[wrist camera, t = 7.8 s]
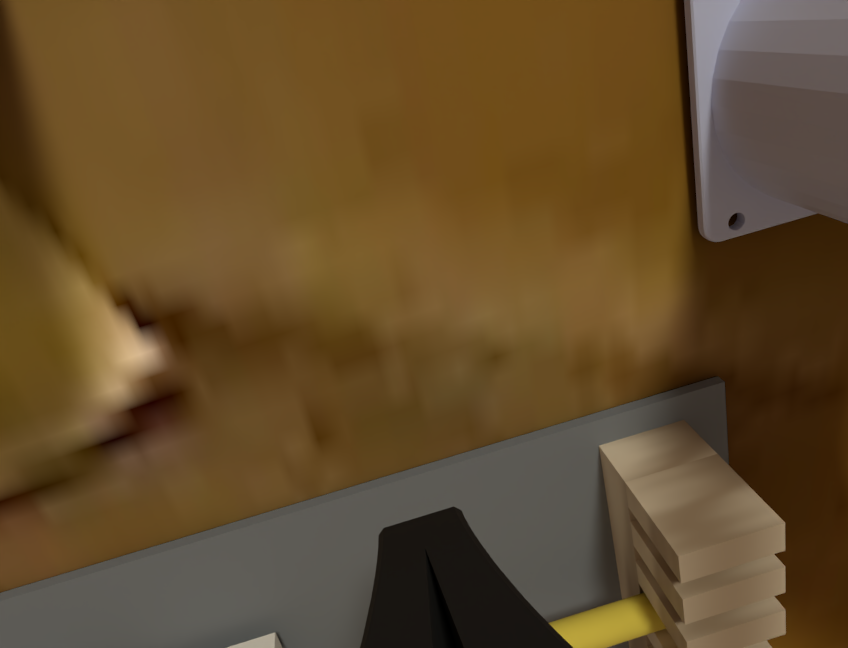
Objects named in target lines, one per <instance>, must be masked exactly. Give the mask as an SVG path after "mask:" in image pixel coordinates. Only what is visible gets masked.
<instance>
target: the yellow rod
mask: <svg viewBox="0 0 848 648" xmlns="http://www.w3.org/2000/svg"><path fill="white" fill-rule="evenodd" d="M549 624H550V625H551V626H552V627H553V628H554V629H555V630H556V631H557V632H558V633H559V634H560V635H561V636H562V637H563V638H564V639H565V640H566V641H567V642H568V643H569V644H570V645H571V646H572V647H573V648H607V647H610V646H613V645H616V644H620V643H623V642H626V641H629V640H632V639H635V638H638V637H641V636H644V635H647V634H651V633H654V632H657V631H660V630H663V629H666V627H665V625H664V624H663V622H662V621H661V619H660V617H659V616H658V614H657V612H656V611H655V609H654V607H653V606H652V604H651V603H650V601H649V599H648V598H647V596H646V594H645V593H641V594H637V595H634V596H631V597H628V598H625V599H622V600H619V601H615V602H612V603H609V604H606V605H603V606H600V607H597V608H594V609H590V610H587V611H584V612H581V613H578V614H575V615H572V616H568V617H565V618H562V619H559V620H556V621H553V622H550V623H549Z"/></svg>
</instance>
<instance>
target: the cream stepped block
mask: <svg viewBox="0 0 848 648" xmlns="http://www.w3.org/2000/svg"><path fill="white" fill-rule="evenodd" d="M227 648H282V646H281V643H280V641H279V639H278V637H277V635H276V633H271V634H268V635H265V636H262V637H259V638H255V639H252V640H249V641H246V642H243V643H239V644H236V645H233V646H230V647H227Z"/></svg>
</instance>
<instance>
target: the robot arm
mask: <svg viewBox="0 0 848 648" xmlns="http://www.w3.org/2000/svg"><path fill="white" fill-rule="evenodd" d="M684 8H685V24H686V40H687V56H688V72H689V88H690V104H691V120H692V136H693V152H694V168H695V184H696V200H697V216H698V229H699V232H700V234H701V235H702V236H703V237H704V238H705V239H707V240H710V241H712V242H721V241H725V240H728V239H731V238H735V237H738V236H742V235H745V234H749V233H752V232H756V231H759V230H762V229H766V228H769V227H773V226H776V225H780V224H783V223H787V222H790V221H793V220H797V219H800V218H804V217H807V216H811V215H814V214H818V213H819V214H822V215H825V216H827V217H830V218H833V219H836V220H839V221H841V222H844V223H847V224H848V0H684ZM735 213H737V220H736V222H735V223H734V224H733V225H731V226H730V227H729V225H728V222H729V219H730V217H731V216H732V215H733V214H735ZM360 648H573V647H572V646H571V645H570V644H569V643H568V642H567V641H566V640H565V639H564V638H563V637H562V636H561V635H560V634H559V633H558V632H557V631H556V630H555V629H554V628H553V627H552V626H551V625H550V624H549V623H548V622H547V621H546V620H545V619H544V618H543V617H542V616H541V615H540V614H539V613H538V612H537V611H536V610H535V609H534V607H533V606H532V605H531V604H530V603H529V602H528V601H527V600H526V599H525V598H524V597H523V595H522V594H521V593H520V592H519V591H518V590H517V588H516V587H515V586H514V585H513V584H512V583H511V581H510V580H509V579H508V578H507V577H506V576H505V574H504V573H503V572H502V571H501V570H500V568H499V567H498V566H497V564H496V563H495V562H494V561H493V559H492V558H491V557H490V555H489V554H488V553H487V551H486V550H485V549H484V547H483V546H482V544H481V543H480V542H479V540H478V539H477V537H476V536H475V534H474V532H473V531H472V529H471V528H470V526H469V524H468V522H467V521H466V519H465V517H464V515H463V512H462V510H460V509H458V508H456V507H450V508H447V509H444V510H440V511H437V512H434V513H431V514H427V515H424V516H421V517H418V518H414V519H411V520H408V521H405V522H401V523H398V524H395V525H392V526H388V527H385V528H383V529H382V531H381V532H380V534H379V538H378V555H377V565H376V572H375V579H374V584H373V590H372V596H371V601H370V606H369V610H368V615H367V620H366V624H365V629H364V634H363V638H362V642H361V646H360Z"/></svg>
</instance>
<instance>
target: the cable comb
mask: <svg viewBox="0 0 848 648" xmlns="http://www.w3.org/2000/svg"><path fill="white" fill-rule="evenodd" d="M599 450H600V457H601V463H602V470H603V477H604V483H605V490H606V496H607V503H608V510H609V516H610V523H611V530H612V536H613V543H614V549H615V556H616V563H617V569H618V576H619V582H620V589H621V596H622V599H625V598H628V597H631V596H634V595H637V594H641V593H645V594H646V596H647V598H648V599H649V601H650V603H651V604H652V606H653V607H654V609H655V611H656V612H657V614H658V616H659V617H660V619H661V621H662V622H663V624H664V625H665V627H666V629H663V630H660V631H657V632H654V633H651V634H647V635H644V636H641V637H638V638H635V639H632V640H629V641H628V642H629V648H772V647H771V646H770V644H769V643H768V642H767V640H769V639H772V638H775V637H778V636H781V635H784V634H786V610H785V609H784V607H783V606H782V605H781V604H780V603H779V601H778V600H777V599H776V598H775V597H774V596H776V595H779V594H783V593H786V575H785V566H784V564H783V563H782V562H781V561H780V560H779V559H778V558H777V557H776V556H775V555H774V554H776V553H779V552H782V551H785V522H784V521H783V520H782V519H781V518H780V517H779V516H778V515H777V514H776V513H775V512H774V511H773V510H772V509H771V508H770V507H769V506H768V505H767V504H766V503H765V502H764V501H763V500H762V499H761V498H760V497H759V496H758V494H757V493H756V492H755V491H754V490H753V489H752V488H751V487H750V486H749V485H748V484H747V483H746V482H745V481H744V480H743V479H742V478H741V477H740V476H739V475H738V474H737V473H736V472H735V471H734V470H733V469H732V468H731V467H730V466H729V465H728V464H727V463H726V462H725V461H724V460H723V459H722V458H721V457H720V456H719V455H718V454H717V453H716V452H715V451H714V450H713V449H712V448H711V447H710V446H709V445H708V444H707V443H706V442H705V441H704V440H703V439H702V438H701V437H700V436H699V435H698V434H697V433H696V432H695V430H694V429H693V428H692V427H691V426H690V425H689V424H688V423H687V422H686V421H685V420H681V421H678V422H675V423H672V424H668V425H665V426H662V427H659V428H655V429H652V430H649V431H645V432H642V433H639V434H636V435H632V436H629V437H626V438H622V439H619V440H616V441H613V442H609V443H606V444H603V445H599Z"/></svg>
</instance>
